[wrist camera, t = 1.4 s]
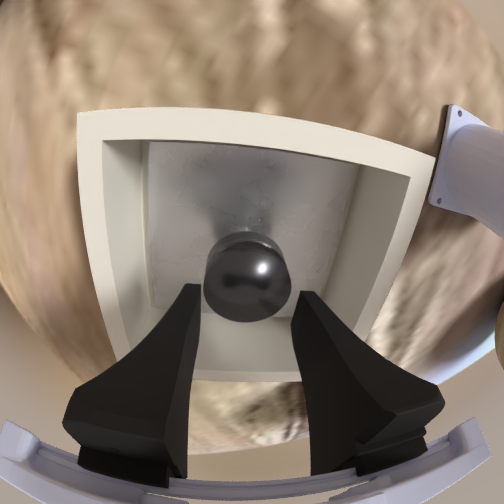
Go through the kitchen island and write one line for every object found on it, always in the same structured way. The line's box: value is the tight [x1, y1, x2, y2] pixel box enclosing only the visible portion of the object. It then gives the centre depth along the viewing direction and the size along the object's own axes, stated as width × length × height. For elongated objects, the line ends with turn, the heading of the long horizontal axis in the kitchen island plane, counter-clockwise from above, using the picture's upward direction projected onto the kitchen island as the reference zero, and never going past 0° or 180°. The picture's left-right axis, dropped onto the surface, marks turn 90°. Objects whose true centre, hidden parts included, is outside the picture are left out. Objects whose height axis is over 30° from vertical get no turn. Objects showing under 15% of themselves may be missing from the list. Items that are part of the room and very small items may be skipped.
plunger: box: [149, 140, 355, 323], centre depth 15 cm, size 11×11×5 cm
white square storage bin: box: [77, 107, 436, 382], centre depth 15 cm, size 15×15×6 cm
